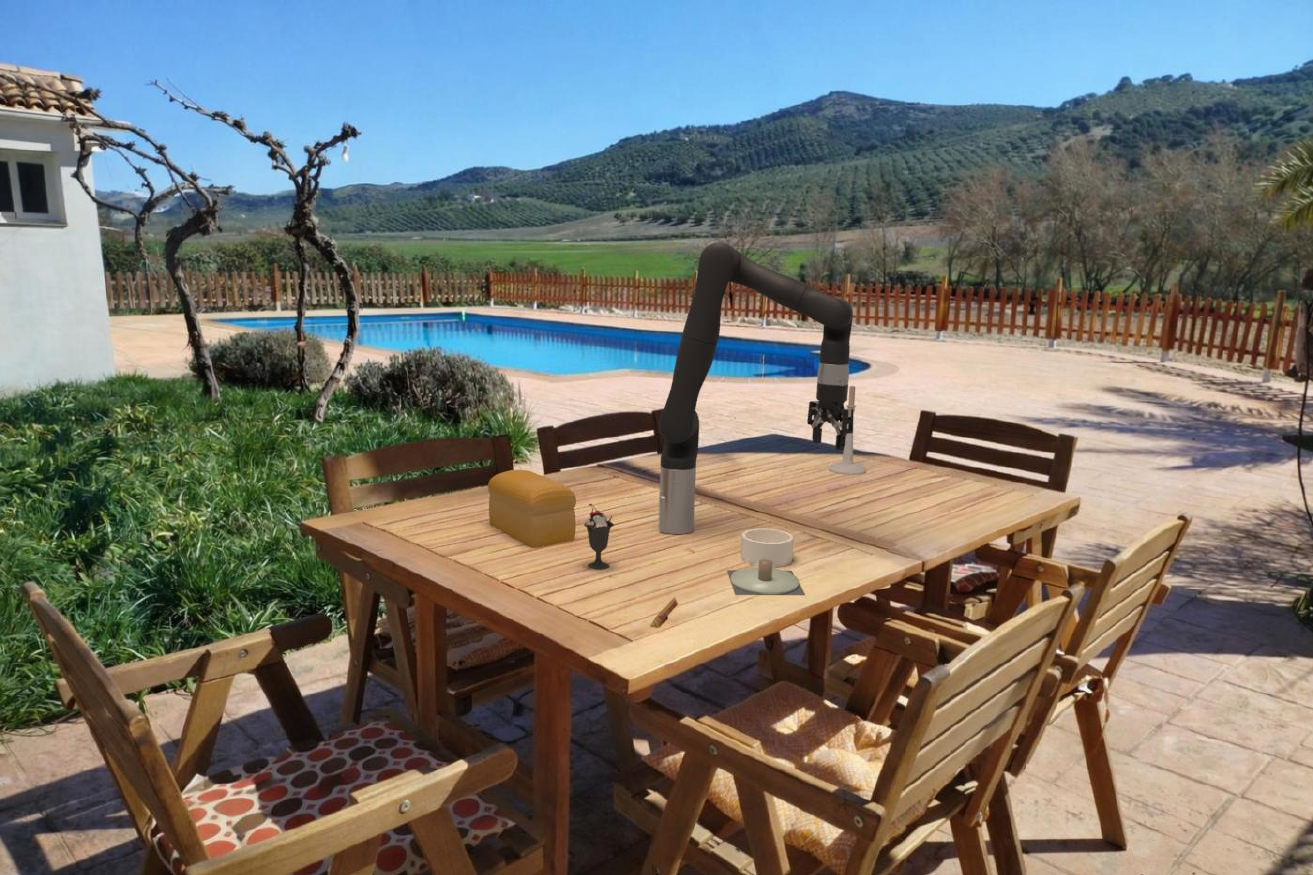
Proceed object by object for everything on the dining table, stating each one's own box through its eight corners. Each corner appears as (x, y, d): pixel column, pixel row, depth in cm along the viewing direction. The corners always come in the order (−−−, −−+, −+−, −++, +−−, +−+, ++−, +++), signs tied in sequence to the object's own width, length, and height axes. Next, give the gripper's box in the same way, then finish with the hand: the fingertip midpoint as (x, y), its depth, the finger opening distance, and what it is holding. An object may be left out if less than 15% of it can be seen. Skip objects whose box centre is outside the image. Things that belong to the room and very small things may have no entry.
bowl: (744, 568, 203) (745, 543, 201) (738, 551, 214) (738, 528, 213) (796, 568, 203) (797, 544, 202) (786, 552, 215) (787, 528, 214)
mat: (735, 596, 185) (735, 594, 185) (726, 572, 200) (726, 570, 200) (805, 596, 186) (805, 594, 186) (791, 572, 201) (791, 570, 201)
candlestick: (821, 467, 308) (826, 382, 302) (854, 465, 312) (859, 382, 306) (839, 475, 296) (845, 388, 290) (873, 473, 300) (879, 387, 294)
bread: (577, 540, 221) (577, 482, 218) (531, 549, 213) (531, 489, 211) (530, 517, 240) (530, 464, 237) (487, 524, 233) (486, 469, 230)
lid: (735, 594, 185) (736, 573, 184) (726, 570, 200) (727, 550, 199) (805, 595, 186) (806, 573, 185) (791, 570, 201) (792, 550, 200)
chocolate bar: (648, 628, 169) (648, 617, 169) (668, 606, 180) (668, 596, 180) (660, 630, 168) (660, 619, 168) (680, 608, 179) (680, 597, 179)
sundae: (577, 565, 202) (578, 503, 199) (599, 559, 207) (600, 498, 204) (596, 573, 197) (597, 509, 195) (618, 566, 202) (619, 503, 199)
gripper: (802, 378, 218) (798, 442, 221) (840, 386, 206) (835, 453, 209) (825, 377, 222) (821, 440, 225) (864, 384, 209) (859, 450, 213)
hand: (828, 446), depth 217 cm, fingers open, 8 cm apart
